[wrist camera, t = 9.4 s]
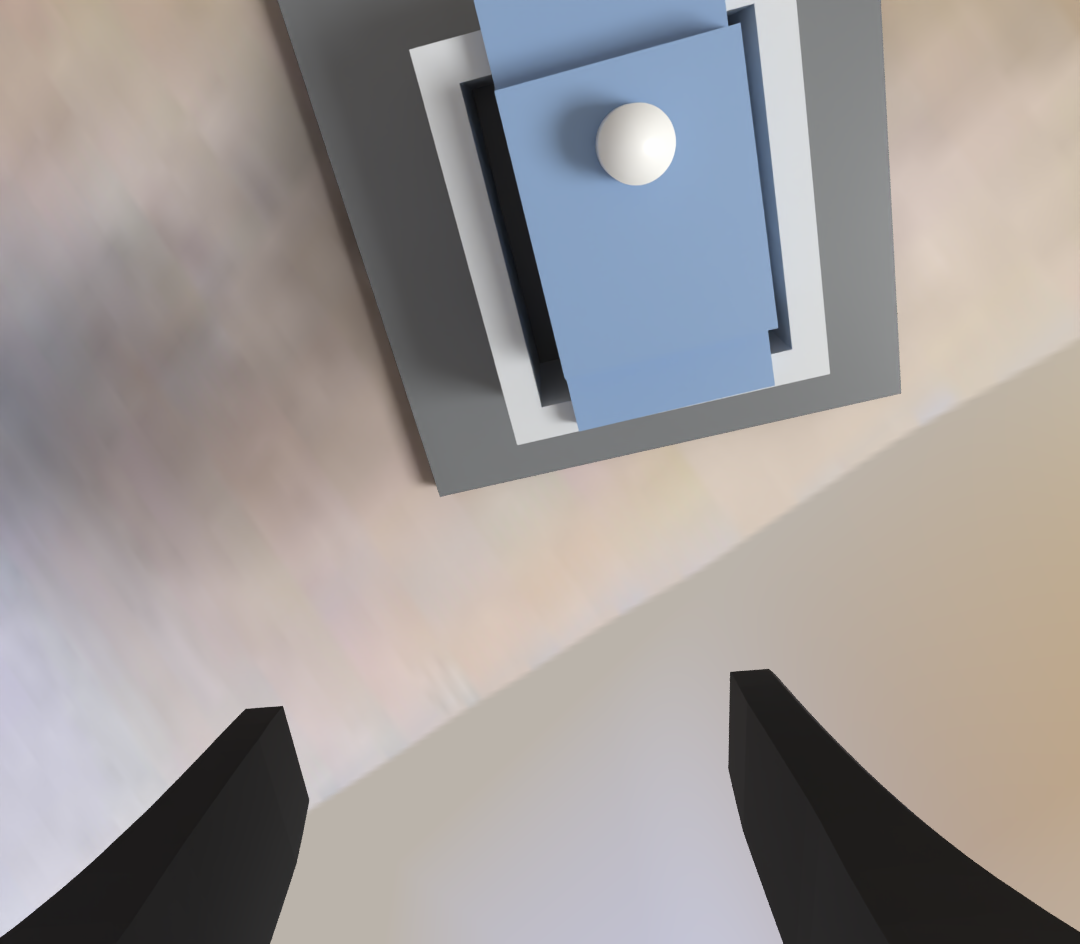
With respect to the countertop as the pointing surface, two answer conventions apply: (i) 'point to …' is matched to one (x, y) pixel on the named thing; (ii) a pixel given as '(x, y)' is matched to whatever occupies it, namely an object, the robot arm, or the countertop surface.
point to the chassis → (506, 250)
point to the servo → (638, 196)
